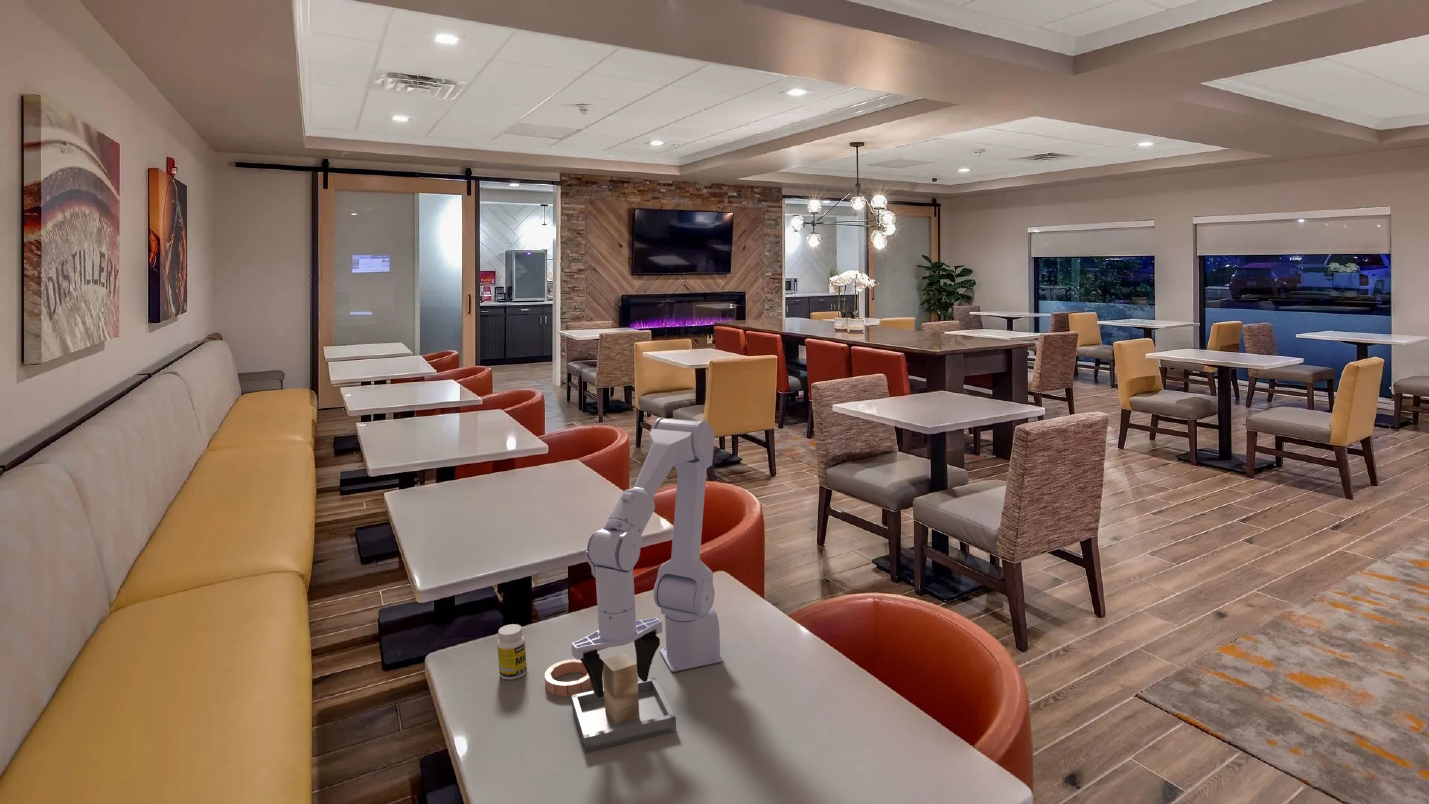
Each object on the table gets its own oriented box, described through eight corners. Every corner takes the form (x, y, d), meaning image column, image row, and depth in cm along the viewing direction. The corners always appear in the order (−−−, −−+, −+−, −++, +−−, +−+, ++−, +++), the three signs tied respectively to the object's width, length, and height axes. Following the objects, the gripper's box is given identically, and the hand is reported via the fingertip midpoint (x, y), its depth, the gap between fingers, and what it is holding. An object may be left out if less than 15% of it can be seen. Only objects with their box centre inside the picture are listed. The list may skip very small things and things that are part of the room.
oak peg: (628, 704, 121) (625, 652, 119) (639, 716, 117) (636, 663, 116) (605, 712, 119) (602, 660, 117) (616, 725, 115) (613, 671, 114)
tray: (655, 690, 126) (655, 677, 125) (676, 730, 115) (675, 716, 114) (572, 708, 121) (571, 695, 121) (585, 752, 110) (584, 738, 110)
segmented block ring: (590, 665, 134) (589, 655, 134) (599, 689, 127) (598, 679, 126) (543, 675, 132) (542, 664, 131) (549, 700, 124) (548, 689, 123)
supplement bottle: (519, 681, 130) (516, 636, 128) (494, 679, 131) (490, 634, 129) (531, 667, 134) (528, 623, 133) (507, 665, 135) (503, 622, 134)
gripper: (646, 584, 122) (650, 661, 124) (561, 608, 114) (567, 689, 117) (667, 600, 116) (670, 680, 118) (579, 626, 108) (585, 711, 111)
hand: (620, 686), depth 117 cm, fingers open, 7 cm apart
